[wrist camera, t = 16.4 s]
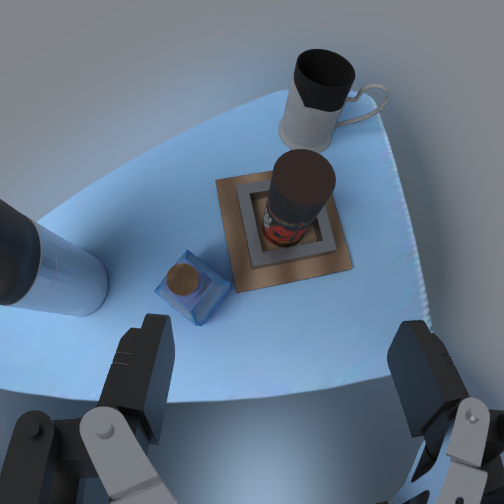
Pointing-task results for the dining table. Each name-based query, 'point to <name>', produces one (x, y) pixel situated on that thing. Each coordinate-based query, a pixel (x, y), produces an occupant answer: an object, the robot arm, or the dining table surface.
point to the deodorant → (296, 195)
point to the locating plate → (265, 253)
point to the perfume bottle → (193, 288)
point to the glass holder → (319, 100)
